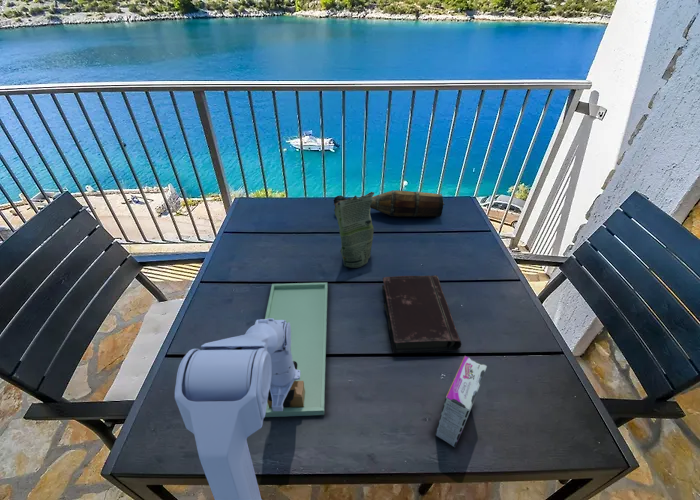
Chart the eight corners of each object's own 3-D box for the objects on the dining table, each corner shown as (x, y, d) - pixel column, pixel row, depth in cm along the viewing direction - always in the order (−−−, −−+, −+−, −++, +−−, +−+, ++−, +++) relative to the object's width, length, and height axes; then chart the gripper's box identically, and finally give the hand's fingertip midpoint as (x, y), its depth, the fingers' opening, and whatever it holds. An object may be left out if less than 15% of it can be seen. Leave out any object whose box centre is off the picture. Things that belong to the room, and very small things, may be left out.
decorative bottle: (439, 200, 149) (334, 196, 151) (445, 186, 139) (332, 182, 141) (440, 222, 145) (332, 218, 147) (446, 210, 135) (330, 206, 137)
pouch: (334, 265, 120) (331, 203, 105) (345, 245, 129) (344, 185, 114) (365, 272, 118) (367, 208, 102) (374, 251, 127) (377, 190, 111)
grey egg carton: (451, 395, 83) (464, 354, 73) (471, 406, 81) (488, 365, 71) (432, 435, 76) (445, 396, 66) (455, 449, 74) (471, 410, 64)
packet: (303, 407, 81) (301, 397, 78) (269, 407, 80) (266, 397, 78) (305, 390, 84) (303, 380, 81) (271, 391, 84) (269, 381, 81)
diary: (437, 285, 112) (439, 274, 109) (459, 351, 93) (463, 339, 90) (379, 287, 112) (380, 276, 109) (390, 354, 92) (391, 342, 89)
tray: (324, 415, 80) (323, 410, 78) (247, 417, 79) (245, 413, 78) (327, 287, 112) (327, 282, 111) (272, 288, 112) (271, 283, 111)
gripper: (294, 394, 67) (300, 427, 76) (301, 333, 78) (306, 368, 87) (257, 395, 67) (268, 428, 75) (270, 334, 78) (278, 368, 87)
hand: (286, 396), depth 81 cm, fingers closed on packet, 4 cm apart
